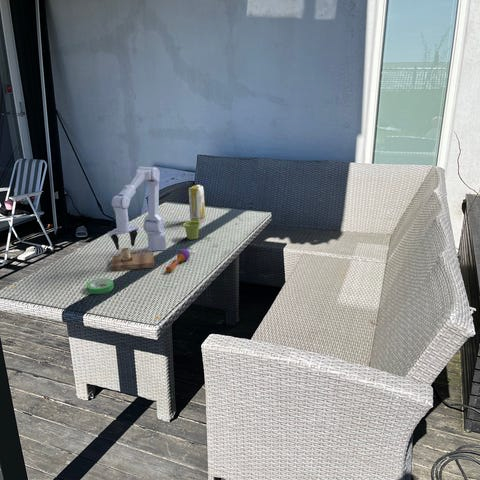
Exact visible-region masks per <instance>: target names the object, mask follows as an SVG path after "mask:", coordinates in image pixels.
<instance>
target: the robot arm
mask: <svg viewBox="0 0 480 480" xmlns="http://www.w3.org/2000/svg"><path fill="white" fill-rule="evenodd" d="M135 171H136V172H135V176H134V177H133V178H132V180H131V182H130V184H126V185H124V187H123V188H122V189H121V191H120V192H119V193H118V194H117V195H114V196H113V197H112V200H111V207H113V208H112V209H113V211H114V213H115V214H114V215H115V223H116V229H113V230H111V231H108V232H107V234H108V235H107V236H108V237H110V238H111V240H112V241H113V244H114V246H115V249H116V250H118V251H119V250H120V245H119V235H123V234H129V239H130V246H131V247H135V243H136V238H137V236H138V232H139V231H140V230H139V229H140V228H139V226H137V225H135V226H130V221H129V220H130V219H129V215H128V214H129V212H128V208H129V207H130V203H131V199H132V198H133V197H134V195H135V194H136V192H137V191H136V189H137V188H139V187H140V185H141V184H142V183H143V182H145V183H146V184H147V186H148V188H147V189H148V191H147V194H148V196H147V197H148V200H147V213H148V214H147V215H146V216H145V217H144V220H143V224H142V228H143V230H144V231H145V234H147V244H148V245H147V252H153V251H154V252H156V251H166V250H167V241H166V232H165V231H164V228H165V224H164V219H163V217H161V216H160V214H159V209H160V208H159V203H160V201H159V199H160V198H159V194H160V193H159V192H160V189H159V187H160V186H159V185H160V178H161V177H160V176H161V175H160V173H161V171H160V169H158V168H157V167H155V166H154V167H151V166H141V165H140V166H138V167H137V169H136V170H135Z"/></svg>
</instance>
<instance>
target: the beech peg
mask: <svg viewBox="0 0 480 480" xmlns="http://www.w3.org/2000/svg"><path fill="white" fill-rule="evenodd" d="M120 252H121V253H120V254H121V255H122V262H128V261H131V258H130V254H131V249H130V248H129V247H123V248H120Z"/></svg>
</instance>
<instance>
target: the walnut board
mask: <svg viewBox="0 0 480 480" xmlns="http://www.w3.org/2000/svg"><path fill="white" fill-rule="evenodd" d="M154 254H155V253H154V252H147V253H145V252H144V253H132V254H131V253H130V258H131V261H128V262H122V254H120V255H112V257H111V258H112V259H111V263H110V271H111V272H117V271H126V270H129V271H130V270H141V269H151V268H152V269H153V268H155V257H154V256H155V255H154Z"/></svg>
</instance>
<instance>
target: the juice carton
mask: <svg viewBox="0 0 480 480" xmlns="http://www.w3.org/2000/svg"><path fill="white" fill-rule="evenodd" d="M188 200H189V202H188V203H189V205H188V206H189V219H190V222H191V221H196V222H200V225H201V224H202V223H203V222H205V221H206V220H205V219H206V217H205V216H206V214H205V213H206V212H205V211H206V209H205V189H204V186H203V185H201V184H196V185H193V186H192V187H189V188H188Z"/></svg>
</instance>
